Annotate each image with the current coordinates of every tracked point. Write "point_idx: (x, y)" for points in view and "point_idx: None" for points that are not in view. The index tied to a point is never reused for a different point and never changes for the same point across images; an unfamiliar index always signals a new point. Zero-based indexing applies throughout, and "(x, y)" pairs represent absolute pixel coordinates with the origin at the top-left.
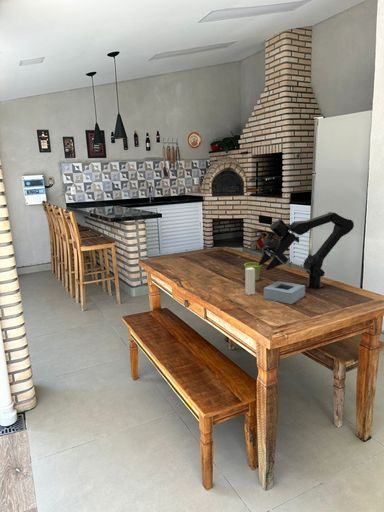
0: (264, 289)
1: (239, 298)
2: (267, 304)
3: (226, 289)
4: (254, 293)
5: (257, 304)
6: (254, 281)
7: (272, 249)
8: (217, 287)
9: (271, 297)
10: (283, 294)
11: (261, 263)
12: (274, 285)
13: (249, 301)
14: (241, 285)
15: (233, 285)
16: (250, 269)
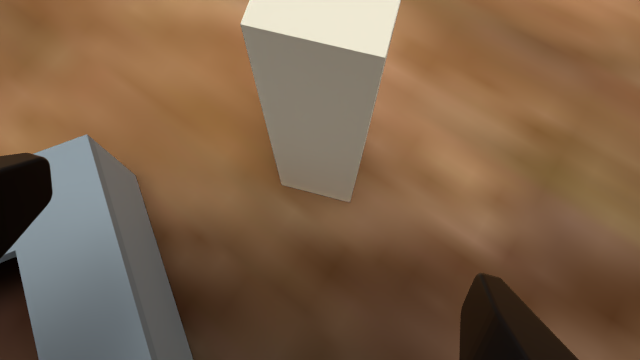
0: (80, 143)
1: None
2: (3, 113)
3: (538, 58)
4: (282, 179)
5: (61, 52)
6: (270, 127)
7: None
8: (628, 27)
9: None
10: None
11: (472, 356)
12: (70, 313)
13: (157, 43)
14: (600, 241)
15: (632, 173)
16: None
